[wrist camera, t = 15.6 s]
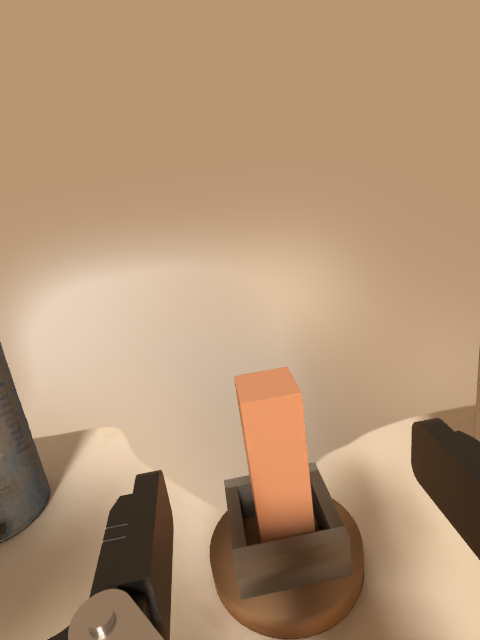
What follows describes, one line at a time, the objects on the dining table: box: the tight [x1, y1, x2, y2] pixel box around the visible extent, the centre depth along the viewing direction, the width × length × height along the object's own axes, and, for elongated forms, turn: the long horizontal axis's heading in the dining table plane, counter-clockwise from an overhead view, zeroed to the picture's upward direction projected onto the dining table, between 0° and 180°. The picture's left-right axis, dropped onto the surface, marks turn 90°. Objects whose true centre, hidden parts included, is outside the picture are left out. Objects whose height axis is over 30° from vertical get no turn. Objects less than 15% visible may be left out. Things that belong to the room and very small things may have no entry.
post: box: [234, 367, 315, 543], centre depth 29 cm, size 4×4×14 cm
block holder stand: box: [210, 463, 364, 639], centre depth 31 cm, size 12×12×6 cm
